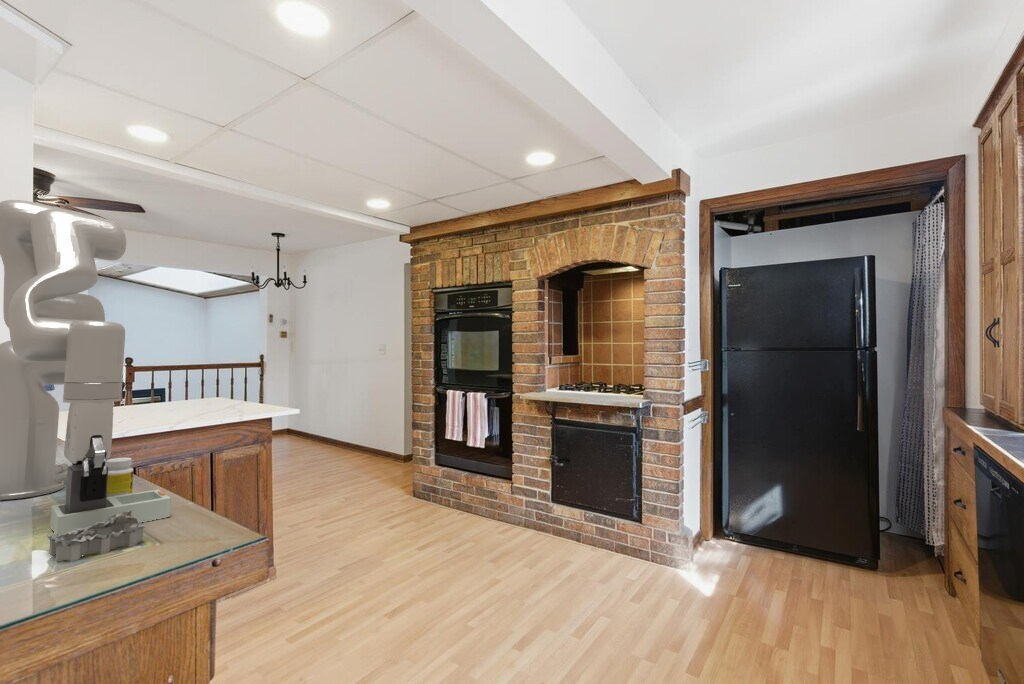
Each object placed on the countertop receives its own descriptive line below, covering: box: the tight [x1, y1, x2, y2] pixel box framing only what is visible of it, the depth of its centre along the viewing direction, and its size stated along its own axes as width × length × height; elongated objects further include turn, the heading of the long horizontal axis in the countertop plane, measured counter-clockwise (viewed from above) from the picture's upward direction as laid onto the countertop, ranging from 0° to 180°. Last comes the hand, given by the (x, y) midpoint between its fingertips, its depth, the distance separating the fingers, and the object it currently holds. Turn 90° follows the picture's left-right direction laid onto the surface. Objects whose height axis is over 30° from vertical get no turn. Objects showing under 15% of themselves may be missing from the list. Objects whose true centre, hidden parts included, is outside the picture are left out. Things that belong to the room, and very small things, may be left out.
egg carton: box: [47, 511, 146, 562], centre depth 73 cm, size 11×8×4 cm
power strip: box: [49, 489, 172, 536], centre depth 84 cm, size 15×8×4 cm, turn 140°
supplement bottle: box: [106, 457, 134, 497], centre depth 94 cm, size 5×5×8 cm
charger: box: [64, 464, 108, 515], centre depth 81 cm, size 5×5×8 cm
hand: (86, 493), depth 81 cm, fingers open, 9 cm apart
